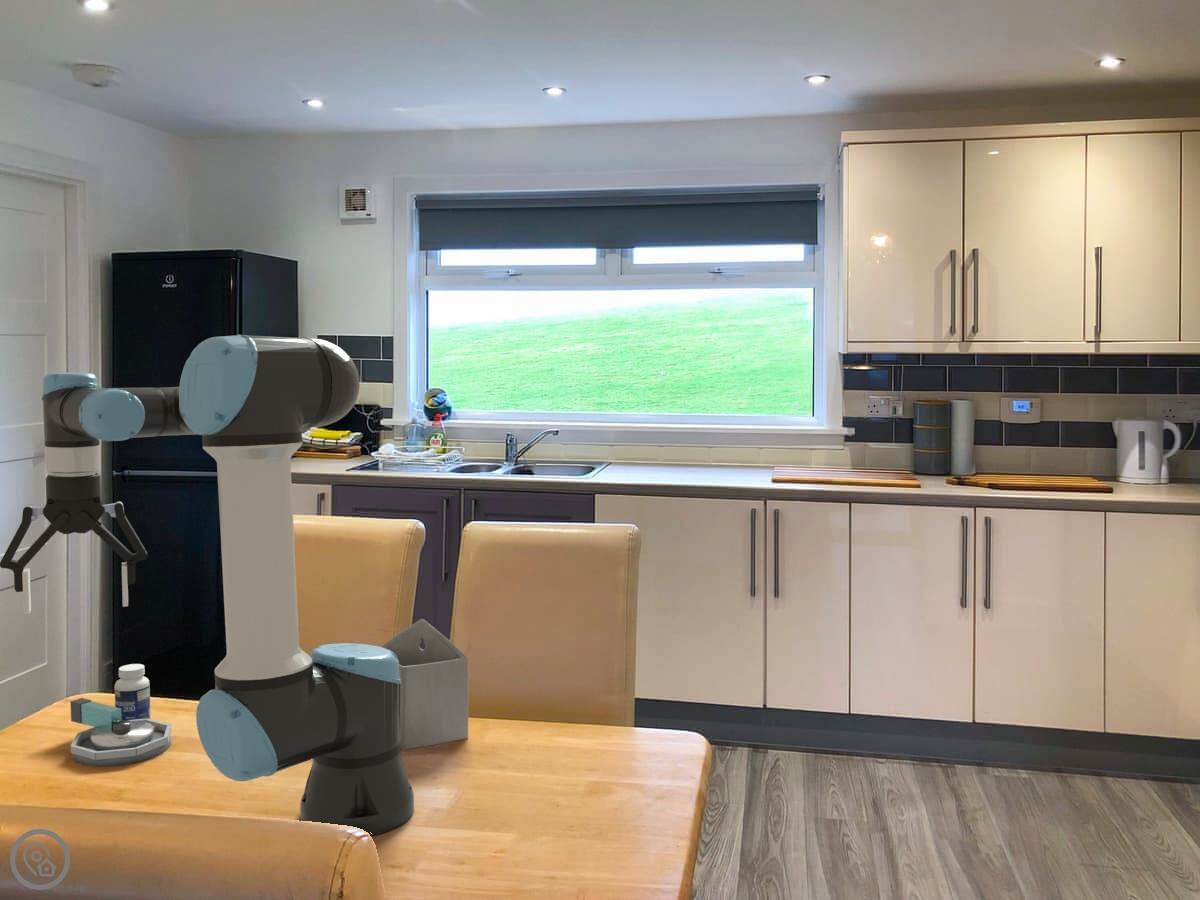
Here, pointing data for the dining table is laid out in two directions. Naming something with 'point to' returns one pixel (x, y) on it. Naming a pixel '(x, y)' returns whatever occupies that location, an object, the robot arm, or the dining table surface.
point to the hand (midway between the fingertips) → (77, 608)
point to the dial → (110, 726)
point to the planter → (430, 687)
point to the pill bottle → (133, 692)
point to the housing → (103, 758)
